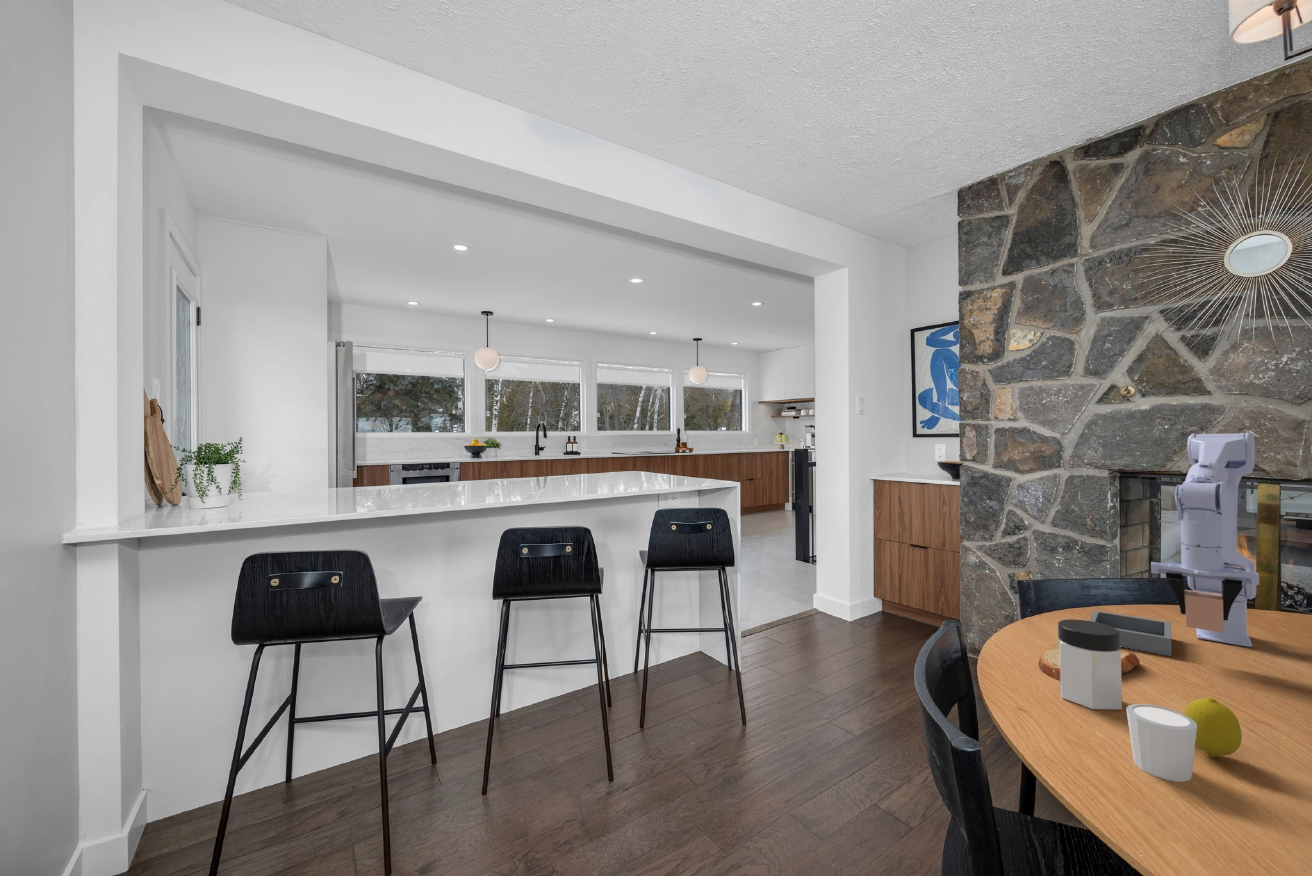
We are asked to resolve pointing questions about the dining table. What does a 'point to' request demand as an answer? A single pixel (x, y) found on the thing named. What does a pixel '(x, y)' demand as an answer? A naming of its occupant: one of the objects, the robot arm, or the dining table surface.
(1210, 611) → the block
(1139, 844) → the dining table surface
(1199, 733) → the lemon
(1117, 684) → the jar
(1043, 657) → the bread slice
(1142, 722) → the white cup
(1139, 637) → the bin
